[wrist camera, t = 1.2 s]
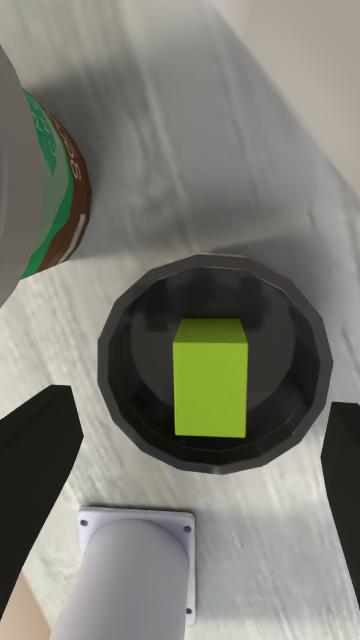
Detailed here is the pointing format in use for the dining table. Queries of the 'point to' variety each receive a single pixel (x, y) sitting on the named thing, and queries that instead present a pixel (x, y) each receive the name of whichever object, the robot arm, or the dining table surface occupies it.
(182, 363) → the green block
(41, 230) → the food container
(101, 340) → the bowl
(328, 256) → the dining table surface
